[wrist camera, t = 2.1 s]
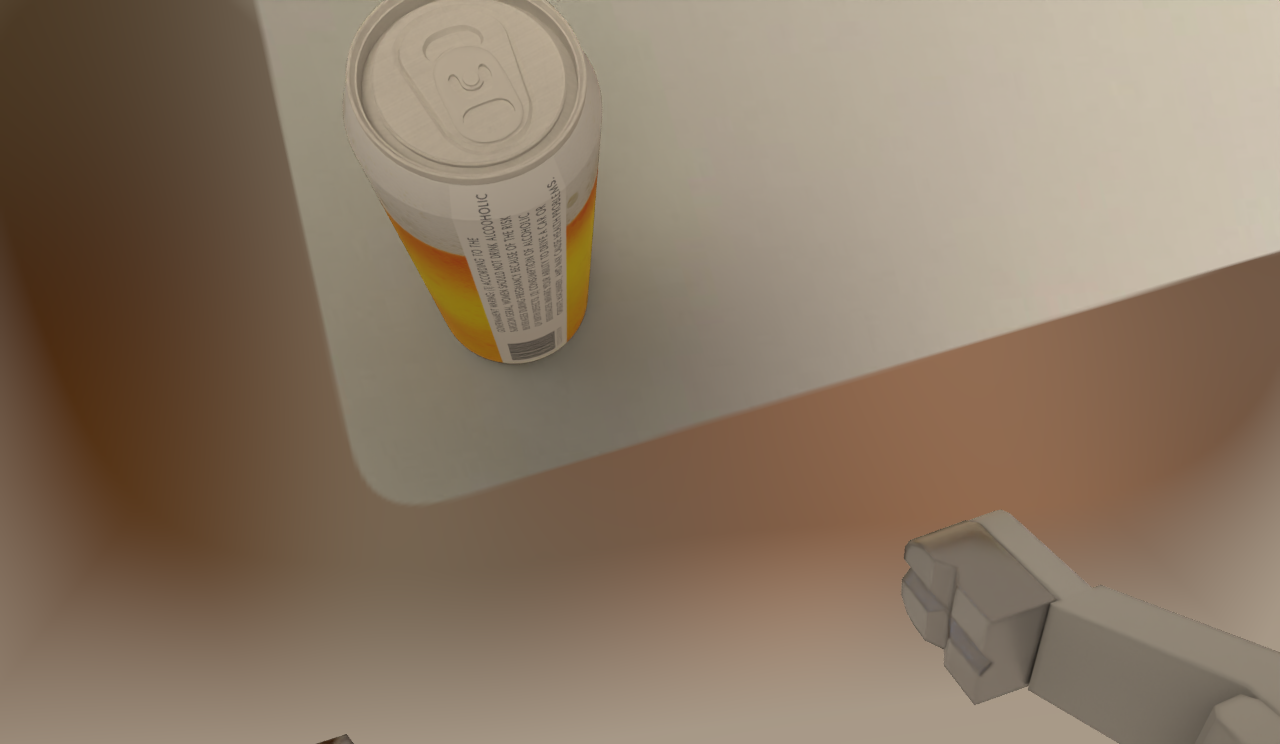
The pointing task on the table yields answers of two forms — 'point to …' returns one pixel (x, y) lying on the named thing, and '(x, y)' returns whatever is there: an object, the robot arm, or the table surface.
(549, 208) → the orange beverage can
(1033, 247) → the table surface
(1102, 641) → the robot arm
